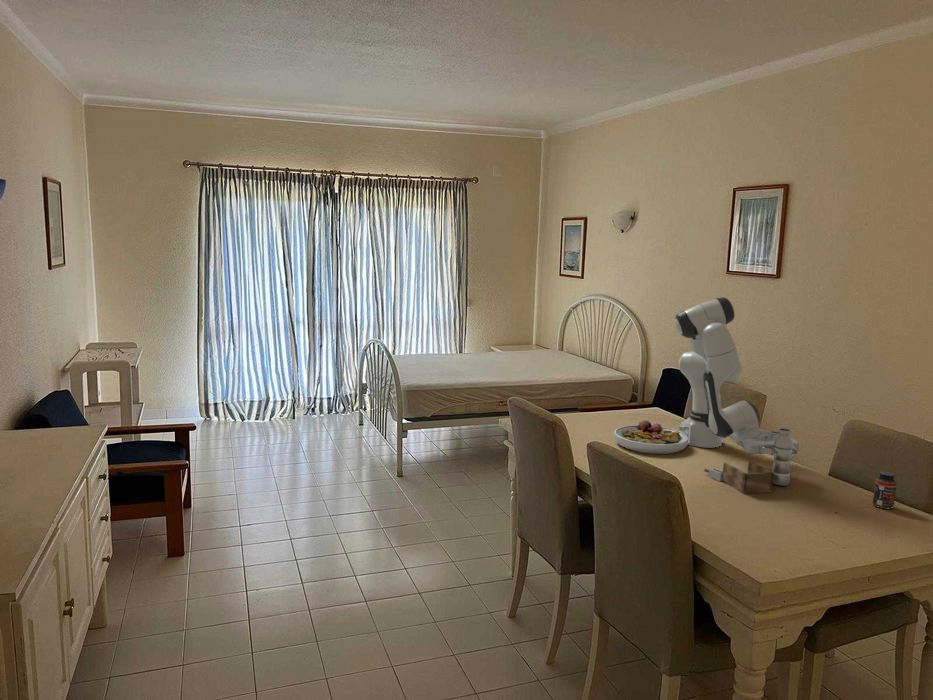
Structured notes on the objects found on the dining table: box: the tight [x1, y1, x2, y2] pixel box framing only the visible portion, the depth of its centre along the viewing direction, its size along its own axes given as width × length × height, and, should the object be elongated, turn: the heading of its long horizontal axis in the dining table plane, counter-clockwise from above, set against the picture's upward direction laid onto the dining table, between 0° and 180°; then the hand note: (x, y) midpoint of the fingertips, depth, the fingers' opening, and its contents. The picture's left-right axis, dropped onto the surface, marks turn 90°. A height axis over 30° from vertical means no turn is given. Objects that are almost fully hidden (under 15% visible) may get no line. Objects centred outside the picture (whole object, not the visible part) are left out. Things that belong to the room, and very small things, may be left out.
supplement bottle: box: [872, 471, 897, 508], centre depth 228 cm, size 6×6×11 cm
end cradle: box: [721, 461, 774, 495], centre depth 244 cm, size 13×11×7 cm
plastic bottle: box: [771, 428, 793, 487], centre depth 246 cm, size 6×7×20 cm
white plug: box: [704, 467, 723, 482], centre depth 252 cm, size 11×3×3 cm, turn 32°
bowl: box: [613, 419, 688, 455], centre depth 292 cm, size 30×30×8 cm
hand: (784, 452), depth 245 cm, fingers open, 8 cm apart
